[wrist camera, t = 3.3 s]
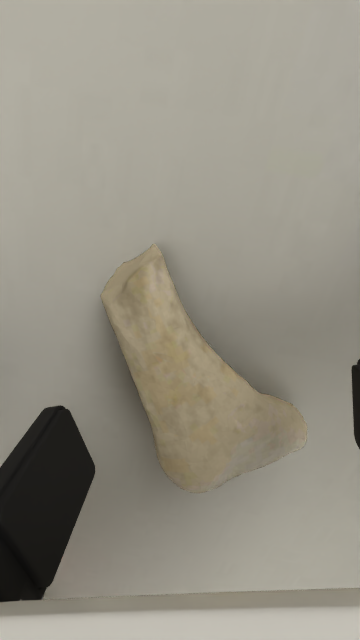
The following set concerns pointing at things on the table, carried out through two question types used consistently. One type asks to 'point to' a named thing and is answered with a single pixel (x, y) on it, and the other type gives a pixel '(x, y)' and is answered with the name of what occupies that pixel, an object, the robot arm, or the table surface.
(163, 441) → the bone
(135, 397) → the table surface
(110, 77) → the table surface
